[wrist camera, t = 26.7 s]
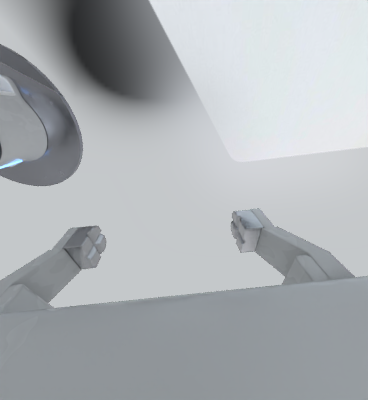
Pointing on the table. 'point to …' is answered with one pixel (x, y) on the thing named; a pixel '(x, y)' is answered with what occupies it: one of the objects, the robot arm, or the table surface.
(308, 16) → the table surface
